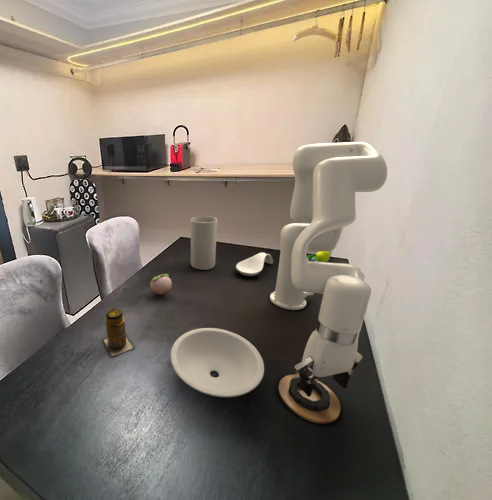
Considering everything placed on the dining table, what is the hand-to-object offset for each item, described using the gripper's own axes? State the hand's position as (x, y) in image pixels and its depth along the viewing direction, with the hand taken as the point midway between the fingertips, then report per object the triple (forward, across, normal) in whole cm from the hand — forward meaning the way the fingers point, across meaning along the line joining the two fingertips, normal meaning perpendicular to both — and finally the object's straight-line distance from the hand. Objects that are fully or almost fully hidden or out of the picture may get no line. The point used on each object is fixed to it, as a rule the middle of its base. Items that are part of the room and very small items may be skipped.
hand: (322, 387), depth 64 cm
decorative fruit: (+3, +25, -57) cm, 63 cm away
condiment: (+3, +47, -31) cm, 57 cm away
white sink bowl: (+3, +22, -12) cm, 26 cm away
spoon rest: (+2, -25, -66) cm, 71 cm away
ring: (+2, +3, 0) cm, 4 cm away
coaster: (+3, +3, 0) cm, 4 cm away
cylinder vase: (+2, -3, -79) cm, 79 cm away
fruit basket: (+2, -51, -57) cm, 77 cm away
